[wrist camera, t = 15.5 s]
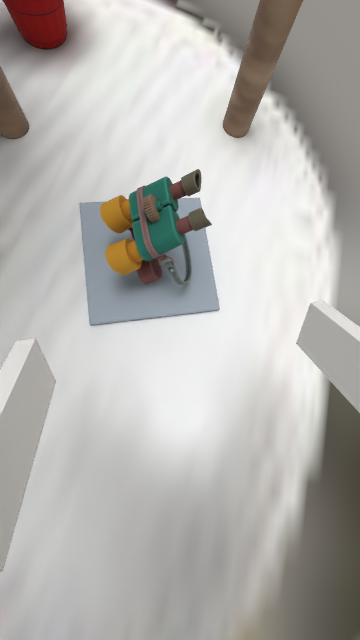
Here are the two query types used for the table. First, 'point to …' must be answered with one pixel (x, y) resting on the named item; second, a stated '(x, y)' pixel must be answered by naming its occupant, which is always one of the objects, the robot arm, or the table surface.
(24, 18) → the plastic cup
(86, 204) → the grey mat
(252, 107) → the post gap
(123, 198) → the binoculars
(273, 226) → the table surface
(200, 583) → the table surface
